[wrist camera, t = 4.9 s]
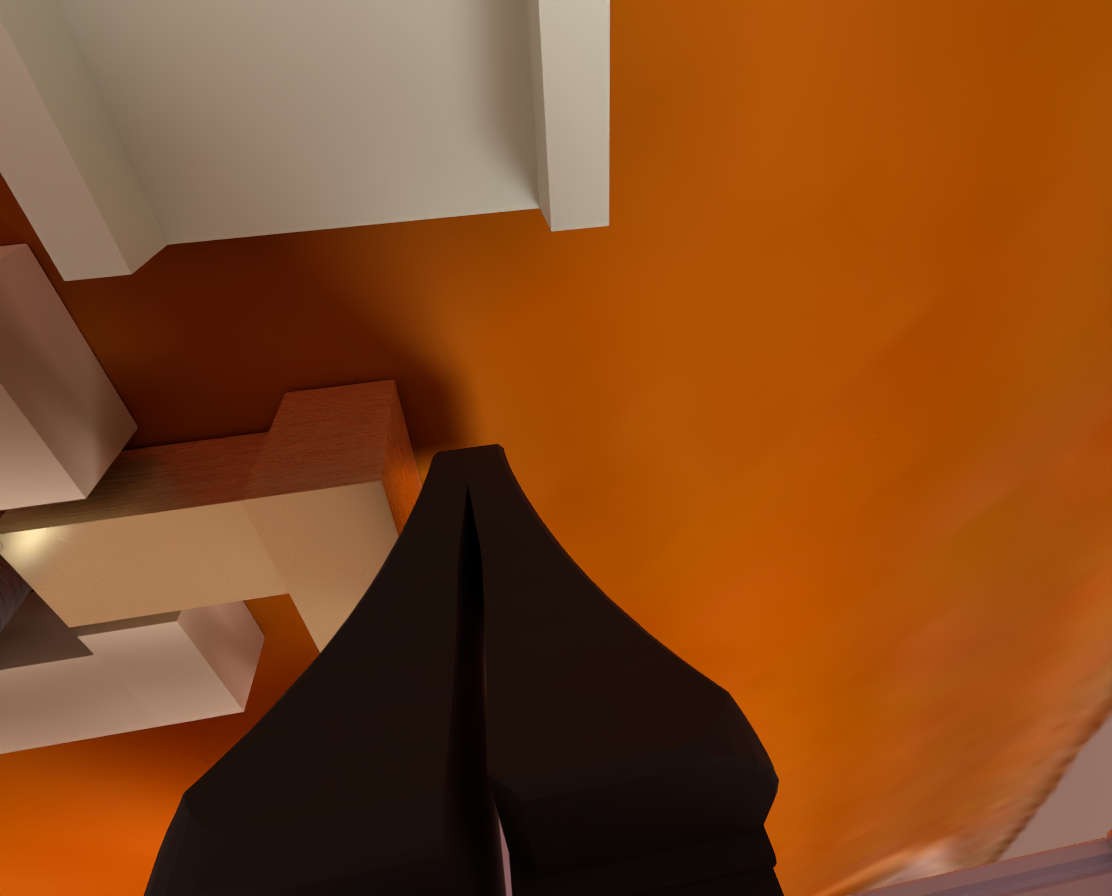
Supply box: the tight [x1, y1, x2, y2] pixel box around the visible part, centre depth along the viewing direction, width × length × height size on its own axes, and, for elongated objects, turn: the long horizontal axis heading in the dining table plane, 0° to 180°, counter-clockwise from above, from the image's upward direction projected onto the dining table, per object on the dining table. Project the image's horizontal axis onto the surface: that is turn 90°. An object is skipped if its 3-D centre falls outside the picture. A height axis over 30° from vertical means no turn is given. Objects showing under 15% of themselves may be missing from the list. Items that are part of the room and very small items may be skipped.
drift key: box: [0, 379, 422, 653], centre depth 11 cm, size 4×6×3 cm, turn 93°
